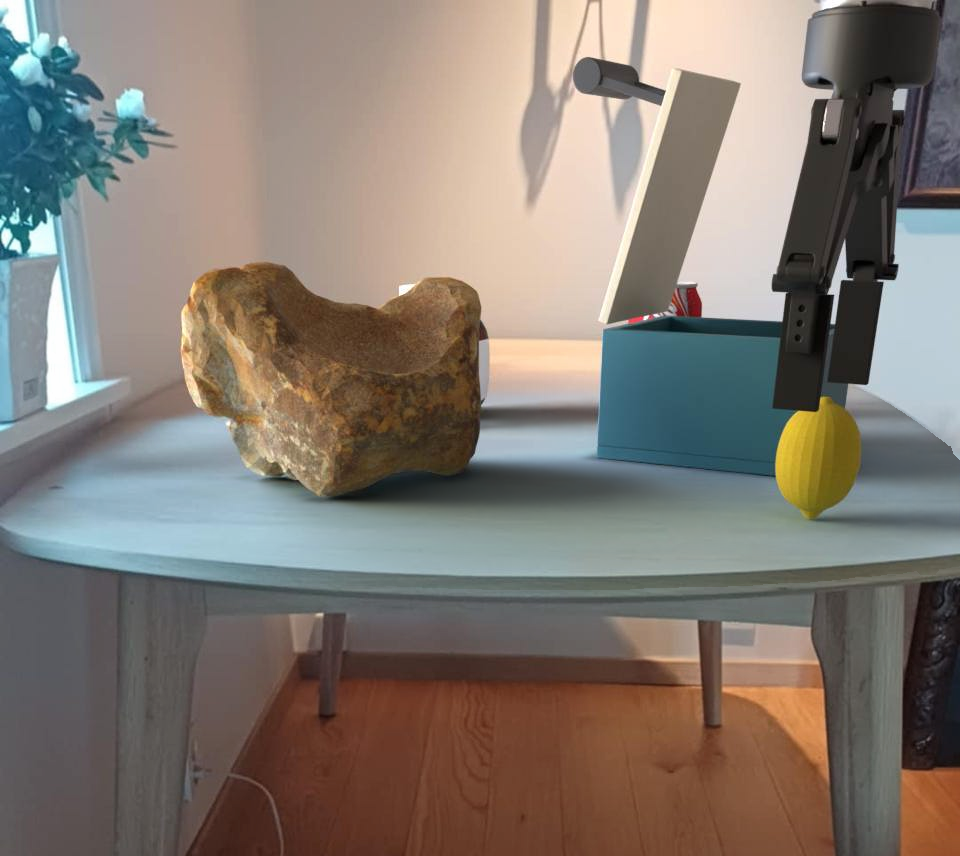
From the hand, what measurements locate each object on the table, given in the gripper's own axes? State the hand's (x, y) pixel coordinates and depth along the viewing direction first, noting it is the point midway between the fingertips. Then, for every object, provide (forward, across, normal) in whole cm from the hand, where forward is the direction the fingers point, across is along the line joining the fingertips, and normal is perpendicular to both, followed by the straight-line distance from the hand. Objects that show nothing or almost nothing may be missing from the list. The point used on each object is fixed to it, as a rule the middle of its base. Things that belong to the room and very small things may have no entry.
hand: (823, 396), depth 82 cm
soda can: (+8, +37, +25) cm, 45 cm away
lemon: (+8, 0, 0) cm, 8 cm away
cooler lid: (-11, +20, +19) cm, 29 cm away
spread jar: (+8, +24, +43) cm, 50 cm away
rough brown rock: (+8, -5, +34) cm, 35 cm away
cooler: (+8, +20, +13) cm, 25 cm away
